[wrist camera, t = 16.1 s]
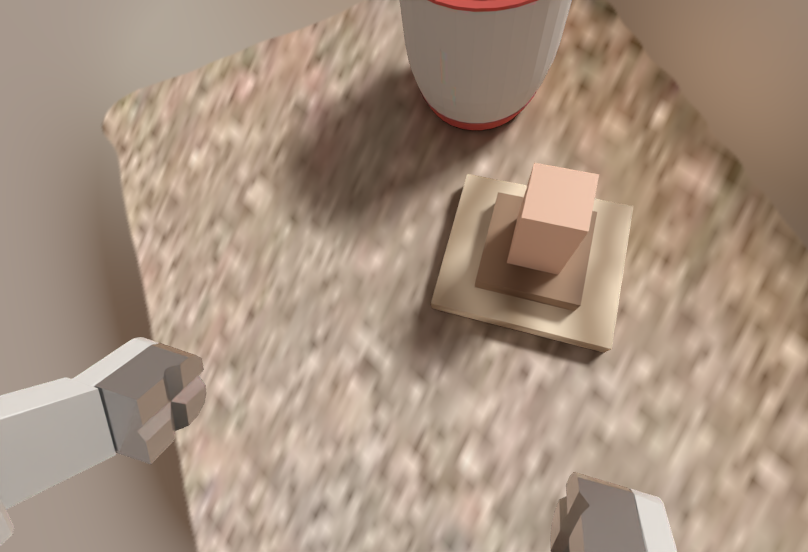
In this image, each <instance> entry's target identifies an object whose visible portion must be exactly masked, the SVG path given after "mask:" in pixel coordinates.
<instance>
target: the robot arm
mask: <svg viewBox="0 0 808 552" xmlns="http://www.w3.org/2000/svg"><path fill="white" fill-rule="evenodd" d="M203 370H204V369H203V363H202V358H200V357H198V356H196V355H194V354H191V353H188V352H185V351H182V350H179V349H176V348H173V347H171V346H168V345H165V344H162V343H158V342H155V341H152V340H149V339H146V338H143V337H139V338H135V339H132V340H130V341H129V342H127V343H126V344H124V345H123V346H121V347H120V348H118V349H117V350H115V351H114V352H112V353H111V354H109V355H108V356H106V357H105V358H103V359H102V360H100V361H99V362H97V363H96V364H94V365H93V366H91V367H90V368H88V369H87V370H85V371H84V372H82V373H81V374H79V375H78V376H76V377H75V378H73V379H69V378H62V379H58V380H55V381H52V382H48V383H44V384H40V385H37V386H33V387H29V388H26V389H22V390H18V391H15V392H11V393H8V394H4V395H0V546H1V545H2V544H3V543H4V542H5V541H6V540H7V539H8V538H9V537H11V536H12V534H13V530H14V525H13V523H12V521H11V519H10V517H9V515H8V513H7V511H6V509H8V508H10V507H12V506H14V505H16V504H18V503H20V502H22V501H24V500H26V499H28V498H30V497H32V496H34V495H36V494H39V493H41V492H43V491H45V490H46V489H49V488H50V487H52V486H55V485H57V484H59V483H61V482H62V481H64V480H67V479H69V478H70V477H73V476H75V475H77V474H79V473H81V472H82V471H85V470H87V469H89V468H91V467H93V466H95V465H97V464H99V463H101V462H103V461H105V460H107V459H109V458H111V457H113V456H115V455H116V453H119V454H122V455H125V456H128V457H131V458H134V459H136V460H140V461H143V462H145V463H148V464H152V462H154V460H155V459H156V458H157V457H158V456H159V455H160V454H161V453H162V452H163V451H164V450H165V449H166V448H167V447H168V446H169V445H170V444H171V443H172V442H173V441H174V438H175V431H176V430H179V429H181V428H184V427H186V426H189V425H190V424H191V423H192V422H193V420H194V419H195V418H196V417H197V416H198V415H199V413H200V411H201V409H202V407H203V405H204V403H205V398H206V385H205V384H204V382H203V381H202V379H201V378H200V377H199V375H200V374H201V372H202V371H203ZM566 494H567V496H566V497H564V498H562V499H559V501H558V504H557V506H556V509H555V511H554V516H553V520H552V525H551V537H550V542H551V552H677V549H676V545H675V542H674V538H673V535H672V531H671V528H670V524H669V521H668V517H667V514H666V510H665V506H664V503H663V502H662V501H661V499H660V498H659V497H656V496H653V495H650V494H646V493H643V492H640V491H636V490H633V489H628V488H627V487H623V486H620V485H617V484H613V483H610V482H607V481H603V480H600V479H597V478H593V477H590V476H586V475H583V474H580V473H576V472H573V473H572V474H571V475H570V477H569V479H568V481H567V483H566Z"/></svg>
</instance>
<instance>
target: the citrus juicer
mask: <svg viewBox="0 0 808 552" xmlns="http://www.w3.org/2000/svg"><path fill="white" fill-rule="evenodd" d="M571 1H572V0H400V7H401V15H402V23H403V31H404V38H405V45H406V50H407V55H408V60H409V64H410V67H411V69H412V72H413V75H414V77H415V80H416V82H417V85H418V87H419V89H420V91H421V94H422V96H423V98H424V99H425V101H426V102H427V103H428V105H429V106H430V108H431V109H432V110H433V111H434V113H435V114H436V115H437V116H438V117H440V118H441V119H442V120H443V121H445V122H447V123H448V124H450V125H452V126H455V127H458V128H461V129H467V130H485V129H491V128H494V127H497V126H500V125H503V124H504V123H506V122H508V121H510V120H511V119H513V118H514V117H515V116H516V115H518V114H519V113H520V112H521V111H522V110H523V109H524V108H525V107H526V105H527V104H528V103H529V102H530V101H531V99H532V98H533V97H534V95H535V93H536V91H537V90H538V88H539V87H540V85H541V84H542V82H543V80H544V78H545V76H546V74H547V72H548V70H549V68H550V66H551V64H552V62H553V60H554V58H555V55H556V53H557V50H558V47H559V44H560V41H561V37H562V34H563V30H564V26H565V23H566V19H567V16H568V12H569V8H570V5H571Z"/></svg>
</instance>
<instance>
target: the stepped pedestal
mask: <svg viewBox="0 0 808 552" xmlns="http://www.w3.org/2000/svg"><path fill="white" fill-rule="evenodd" d="M526 188H527V185H522V184H517V183H511V182H506V181H501V180H496V179H491V178H486V177H480V176H475V175H470V174H467V177H466V180H465V184H464V187H463V191H462V194H461V198H460V201H459V205H458V208H457V212H456V216H455V219H454V223H453V226H452V230H451V233H450V237H449V240H448V244H447V248H446V251H445V255H444V258H443V262H442V265H441V269H440V272H439V276H438V279H437V283H436V287H435V290H434V294H433V297H432V301H431V306H432V309H436V310H440V311H444V312H448V313H452V314H455V315H459V316H463V317H467V318H471V319H475V320H479V321H483V322H487V323H490V324H494V325H498V326H502V327H506V328H510V329H514V330H518V331H522V332H526V333H529V334H533V335H537V336H541V337H545V338H549V339H553V340H557V341H561V342H564V343H568V344H572V345H576V346H580V347H584V348H588V349H592V350H596V351H600V352H603V353H604V352H606V351H608V350H611V349H612V343H613V336H614V330H615V323H616V317H617V310H618V304H619V297H620V290H621V284H622V277H623V271H624V264H625V258H626V251H627V244H628V238H629V231H630V225H631V218H632V212H633V206H630V205H625V204H620V203H615V202H610V201H604V200H599V199H595V200H594V205H593V211H592V216H591V222H590V227H589V232H588V233H587V235H586V236H585V238H584V239H583V240H582V242H581V243H580V245H579V246H578V248H577V249H576V250H575V252H574V253H573V255H572V256H571V258H570V259H569V261H568V262H567V263H566V265H565V266H564V268H563V269H562V271H561V272H560V273H559V275H557V274H553V273H548V272H544V271H539V270H535V269H531V268H526V267H522V266H518V265H513V264H509V263H507V260H508V255H509V251H510V247H511V243H512V238H513V234H514V230H515V226H516V222H517V218H518V214H519V211H520V208H521V204H522V201H523V198H524V195H525V191H526Z"/></svg>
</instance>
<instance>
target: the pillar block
mask: <svg viewBox="0 0 808 552" xmlns="http://www.w3.org/2000/svg"><path fill="white" fill-rule="evenodd" d="M598 178H599V174H593V173H588V172H582V171H577V170H571V169H566V168H561V167H555V166H550V165H544V164H539V163H534V165H533V169H532V172H531V175H530V178H529V182H528V185H527V188H526V191H525V195H524V198H523V201H522V204H521V208H520V211H519V214H518V218H517V222H516V226H515V230H514V234H513V238H512V243H511V247H510V251H509V255H508V260H507V263H509V264H513V265H518V266H522V267H526V268H531V269H535V270H539V271H544V272H548V273H553V274H557V275H559V273H560V272H561V271H562V269H563V268H564V266H565V265H566V263H567V262H568V261H569V259H570V258H571V256H572V255H573V253H574V252H575V250H576V249H577V248H578V246H579V245H580V243H581V242H582V240H583V239H584V238H585V236H586V235H587V233H588V232H589V227H590V222H591V216H592V211H593V205H594V200H595V194H596V189H597V183H598Z"/></svg>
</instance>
